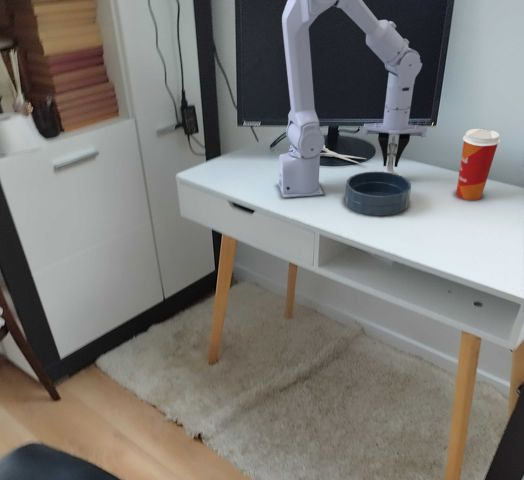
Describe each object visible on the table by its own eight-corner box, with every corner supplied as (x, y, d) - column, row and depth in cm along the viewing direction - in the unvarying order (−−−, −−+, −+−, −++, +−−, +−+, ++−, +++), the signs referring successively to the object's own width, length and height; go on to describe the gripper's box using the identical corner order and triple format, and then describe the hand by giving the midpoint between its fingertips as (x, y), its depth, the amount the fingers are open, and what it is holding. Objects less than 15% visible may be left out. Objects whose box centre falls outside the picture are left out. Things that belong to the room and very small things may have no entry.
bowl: (353, 218, 118) (355, 199, 116) (338, 192, 129) (339, 173, 127) (417, 213, 120) (420, 194, 117) (396, 188, 131) (399, 169, 128)
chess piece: (397, 173, 137) (403, 132, 130) (399, 181, 133) (405, 139, 126) (378, 173, 137) (382, 132, 131) (379, 181, 133) (384, 139, 127)
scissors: (312, 141, 155) (376, 154, 145) (312, 144, 155) (376, 157, 146) (291, 153, 148) (357, 167, 139) (291, 155, 149) (357, 170, 139)
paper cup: (456, 186, 131) (468, 125, 122) (489, 192, 127) (504, 130, 119) (447, 198, 125) (459, 136, 116) (481, 205, 122) (497, 141, 113)
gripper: (364, 110, 123) (358, 169, 131) (430, 112, 120) (420, 173, 129) (366, 101, 128) (361, 158, 137) (430, 103, 125) (420, 162, 134)
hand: (390, 165), depth 133 cm, fingers closed on chess piece
